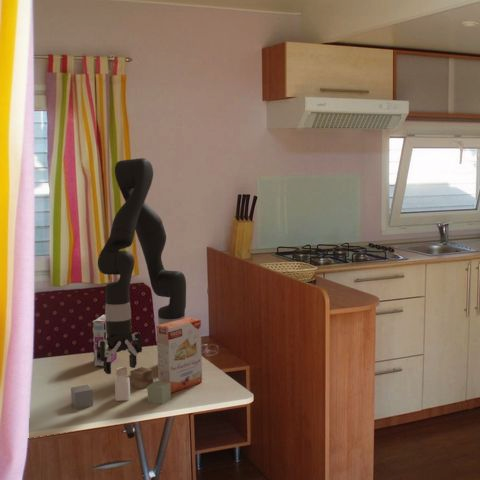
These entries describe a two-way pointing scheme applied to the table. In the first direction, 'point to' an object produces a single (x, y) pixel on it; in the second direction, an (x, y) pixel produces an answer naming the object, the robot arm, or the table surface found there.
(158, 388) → the sage green block
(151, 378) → the walnut block
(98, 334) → the candy bar box
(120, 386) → the salt shaker
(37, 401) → the table surface
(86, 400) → the slate grey block
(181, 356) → the cracker box
